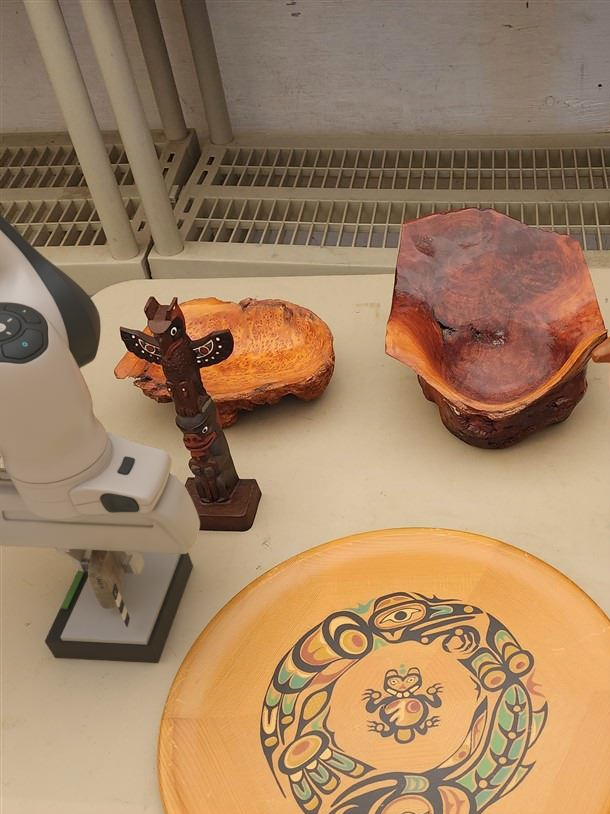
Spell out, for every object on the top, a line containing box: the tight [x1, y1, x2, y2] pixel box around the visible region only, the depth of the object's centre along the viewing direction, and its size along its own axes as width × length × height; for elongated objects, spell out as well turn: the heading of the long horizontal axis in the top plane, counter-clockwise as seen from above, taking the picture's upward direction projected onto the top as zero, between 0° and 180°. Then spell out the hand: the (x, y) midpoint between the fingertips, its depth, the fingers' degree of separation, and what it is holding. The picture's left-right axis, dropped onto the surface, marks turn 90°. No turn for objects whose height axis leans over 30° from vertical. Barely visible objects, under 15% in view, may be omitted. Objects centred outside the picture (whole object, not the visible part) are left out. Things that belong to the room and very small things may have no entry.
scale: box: [44, 552, 194, 664], centre depth 92 cm, size 11×13×4 cm
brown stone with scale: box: [88, 550, 130, 627], centre depth 88 cm, size 6×4×12 cm
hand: (113, 567), depth 89 cm, fingers closed on brown stone with scale, 3 cm apart
